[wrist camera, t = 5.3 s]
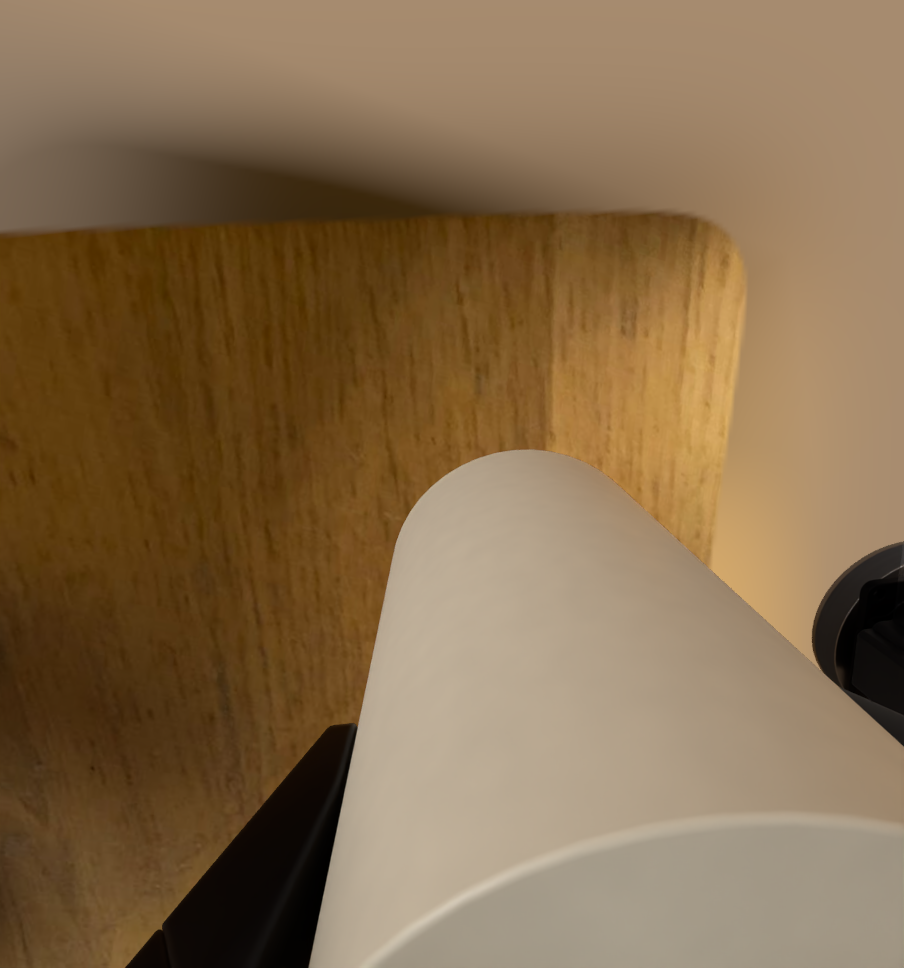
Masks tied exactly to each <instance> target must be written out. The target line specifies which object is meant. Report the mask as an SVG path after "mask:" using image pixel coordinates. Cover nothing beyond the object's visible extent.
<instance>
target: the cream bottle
mask: <svg viewBox="0 0 904 968" xmlns="http://www.w3.org/2000/svg"><path fill="white" fill-rule="evenodd" d="M309 968H904V746H902V745H901V744H900V743H899V742H898V741H897V740H896V739H895V738H894V737H893V736H892V735H890V734H889V733H888V732H887V731H886V730H885V729H884V728H883V727H882V726H881V725H880V724H878V723H877V722H876V721H875V720H874V719H873V718H872V717H871V716H870V715H869V714H868V713H866V712H865V711H864V710H863V709H862V708H861V707H860V706H859V705H858V704H857V703H856V702H854V701H853V700H852V699H851V698H850V697H849V696H848V695H847V694H846V693H845V692H843V691H842V690H841V689H840V688H839V687H838V686H837V685H836V684H835V683H834V682H833V681H831V680H830V679H829V678H828V677H827V676H826V675H825V674H824V673H823V672H822V671H821V670H819V669H818V668H817V667H816V666H815V665H814V664H813V663H812V662H811V661H810V660H809V659H807V658H806V657H805V656H804V655H803V654H802V653H801V652H800V651H799V650H797V648H795V647H794V646H793V645H792V644H791V643H790V642H789V641H788V640H787V639H786V638H784V637H783V636H782V635H781V634H780V633H779V632H778V631H777V630H776V629H775V628H774V627H773V626H771V625H770V624H769V623H768V622H767V621H766V620H765V619H763V617H762V616H760V615H759V614H758V613H757V612H756V611H755V610H754V609H753V608H752V607H751V606H750V605H748V604H747V603H746V602H745V601H744V600H743V599H742V598H741V597H740V596H739V595H737V594H736V593H735V592H734V591H733V590H732V589H731V588H730V587H729V586H728V585H727V584H726V583H724V582H723V581H722V580H721V579H720V578H719V577H718V576H717V575H716V574H715V573H713V572H712V571H711V570H710V569H709V568H708V567H707V566H706V565H705V564H704V563H703V562H702V561H700V560H699V559H698V558H697V557H696V556H695V555H694V554H693V553H692V552H691V551H690V550H688V549H687V548H686V547H685V546H684V545H683V544H682V543H681V542H680V541H679V540H678V539H676V538H675V537H674V536H673V535H672V534H671V533H670V532H669V531H668V530H667V529H665V528H664V527H663V526H662V525H661V524H660V523H659V522H658V521H657V520H656V519H655V518H653V517H652V516H651V515H650V514H649V513H648V512H647V511H646V510H645V509H644V508H643V507H641V506H640V505H639V504H638V503H637V502H636V501H635V500H634V499H633V498H632V497H631V496H629V495H628V494H627V493H626V492H625V491H624V490H623V489H622V488H621V487H620V486H619V485H617V484H616V483H615V482H614V481H613V480H612V479H611V478H609V477H608V476H606V475H605V474H604V473H602V472H601V471H600V470H598V469H596V468H595V467H593V466H591V465H589V464H587V463H585V462H583V461H581V460H578V459H575V458H573V457H570V456H567V455H563V454H559V453H555V452H550V451H541V450H512V451H506V452H500V453H494V454H491V455H488V456H484V457H481V458H478V459H475V460H473V461H471V462H469V463H466V464H464V465H462V466H460V467H458V468H457V469H455V470H453V471H452V472H450V473H448V474H447V475H445V476H444V477H443V478H442V479H440V480H439V481H438V482H437V483H435V484H434V485H433V486H432V487H431V488H430V489H429V490H428V491H427V492H426V493H425V494H424V495H423V496H422V497H421V498H420V499H419V501H418V502H417V503H416V505H415V506H414V507H413V509H412V510H411V512H410V513H409V515H408V517H407V519H406V520H405V522H404V524H403V526H402V528H401V531H400V534H399V536H398V539H397V542H396V546H395V550H394V555H393V559H392V564H391V569H390V574H389V579H388V583H387V588H386V593H385V598H384V603H383V608H382V613H381V617H380V622H379V627H378V632H377V637H376V642H375V647H374V651H373V656H372V661H371V666H370V671H369V676H368V681H367V686H366V690H365V695H364V700H363V705H362V710H361V715H360V720H359V724H358V729H357V734H356V739H355V744H354V749H353V754H352V758H351V763H350V768H349V773H348V778H347V783H346V788H345V792H344V797H343V802H342V807H341V812H340V817H339V822H338V827H337V831H336V836H335V841H334V846H333V851H332V856H331V861H330V865H329V870H328V875H327V880H326V885H325V890H324V895H323V899H322V904H321V909H320V914H319V919H318V924H317V929H316V934H315V938H314V943H313V948H312V953H311V958H310V963H309Z"/></svg>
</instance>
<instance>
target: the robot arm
mask: <svg viewBox="0 0 904 968" xmlns="http://www.w3.org/2000/svg"><path fill="white" fill-rule="evenodd" d="M877 590H878V591H877ZM876 591H877V593H876V594H875V595H873V594H874V592H876ZM839 688H840V689H841V690H842V691H843V692H845V693H846V694H847V695H848V696H849V697H850V698H851V699H852V700H853V701H854V702H856V703H857V704H858V705H859V706H860V707H861V708H862V709H863V710H864V711H865V712H866V713H868V714H869V715H870V716H871V717H872V718H873V719H874V720H875V721H876V722H877V723H878V724H880V725H881V726H882V727H883V728H884V729H885V730H886V731H887V732H888V733H889V734H890V735H892V736H893V737H894V738H895V739H896V740H897V741H898V742H899V743H900V744H901V745H902V746H904V576H899V577H891V578H882V579H874V580H870V581H868V582H866V583H865V584H864V585H863V586H862V587H861V590H860V595H859V604H858V612H857V621H856V629H855V637H854V646H853V654H852V662H851V671H850V679H849V688H848V691H847V690H845V689H843V688H841V687H839ZM357 729H358V727H357V726H356V725H355V724H354V723H349V724H340V725H333V726H330V727H329V728H327V729H326V730H325V732H324V733H323V734H322V735H321V736H320V738H319V739H318V740H317V741H316V742H315V744H314V745H313V746H312V747H311V748H310V749H309V751H308V752H307V753H306V754H305V755H304V757H303V758H302V759H301V760H300V761H299V763H298V764H297V765H296V766H295V767H294V768H293V770H292V771H291V772H290V773H289V774H288V776H287V777H286V778H285V779H284V780H283V781H282V783H281V784H280V785H279V786H278V787H277V789H276V790H275V791H274V792H273V793H272V795H271V796H270V797H269V798H268V799H267V800H266V802H265V803H264V804H263V805H262V806H261V808H260V809H259V810H258V811H257V812H256V814H255V815H254V816H253V817H252V818H251V819H250V821H249V822H248V823H247V824H246V825H245V827H244V828H243V829H242V830H241V831H240V833H239V834H238V835H237V836H236V837H235V838H234V840H233V841H232V842H231V843H230V844H229V846H228V847H227V848H226V849H225V850H224V852H223V853H222V854H221V855H220V856H219V857H218V859H217V860H216V861H215V862H214V863H213V865H212V866H211V867H210V868H209V869H208V870H207V872H206V873H205V874H204V875H203V876H202V878H201V879H200V880H199V881H198V882H197V884H196V885H195V886H194V887H193V888H192V889H191V891H190V892H189V893H188V894H187V895H186V897H185V898H184V899H183V900H182V901H181V903H180V904H179V905H178V906H177V907H176V908H175V910H174V911H173V912H172V913H171V914H170V916H169V917H168V918H167V919H166V920H165V922H164V923H163V925H162V929H163V931H162V930H157V931H156V932H155V933H154V934H153V935H152V937H151V938H150V939H149V940H148V941H147V943H146V944H145V945H144V946H143V947H142V948H141V950H140V951H139V952H138V953H137V954H136V956H135V957H134V958H133V959H132V960H131V961H130V963H129V964H128V965H127V966H126V967H125V968H309V963H310V958H311V953H312V948H313V943H314V938H315V934H316V929H317V924H318V919H319V914H320V909H321V904H322V899H323V895H324V890H325V885H326V880H327V875H328V870H329V865H330V861H331V856H332V851H333V846H334V841H335V836H336V831H337V827H338V822H339V817H340V812H341V807H342V802H343V797H344V792H345V788H346V783H347V778H348V773H349V768H350V763H351V758H352V754H353V749H354V744H355V739H356V734H357Z"/></svg>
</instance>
